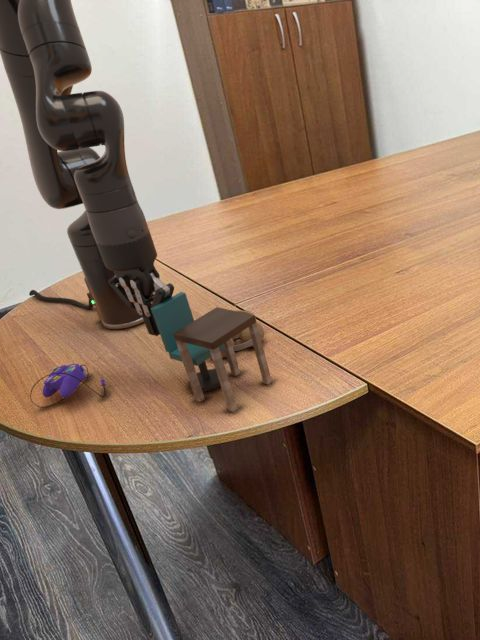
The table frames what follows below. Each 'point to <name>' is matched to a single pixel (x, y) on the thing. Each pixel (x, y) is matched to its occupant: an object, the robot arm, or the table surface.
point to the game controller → (65, 381)
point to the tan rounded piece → (243, 337)
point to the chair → (174, 318)
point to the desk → (211, 335)
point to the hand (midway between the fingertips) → (157, 332)
